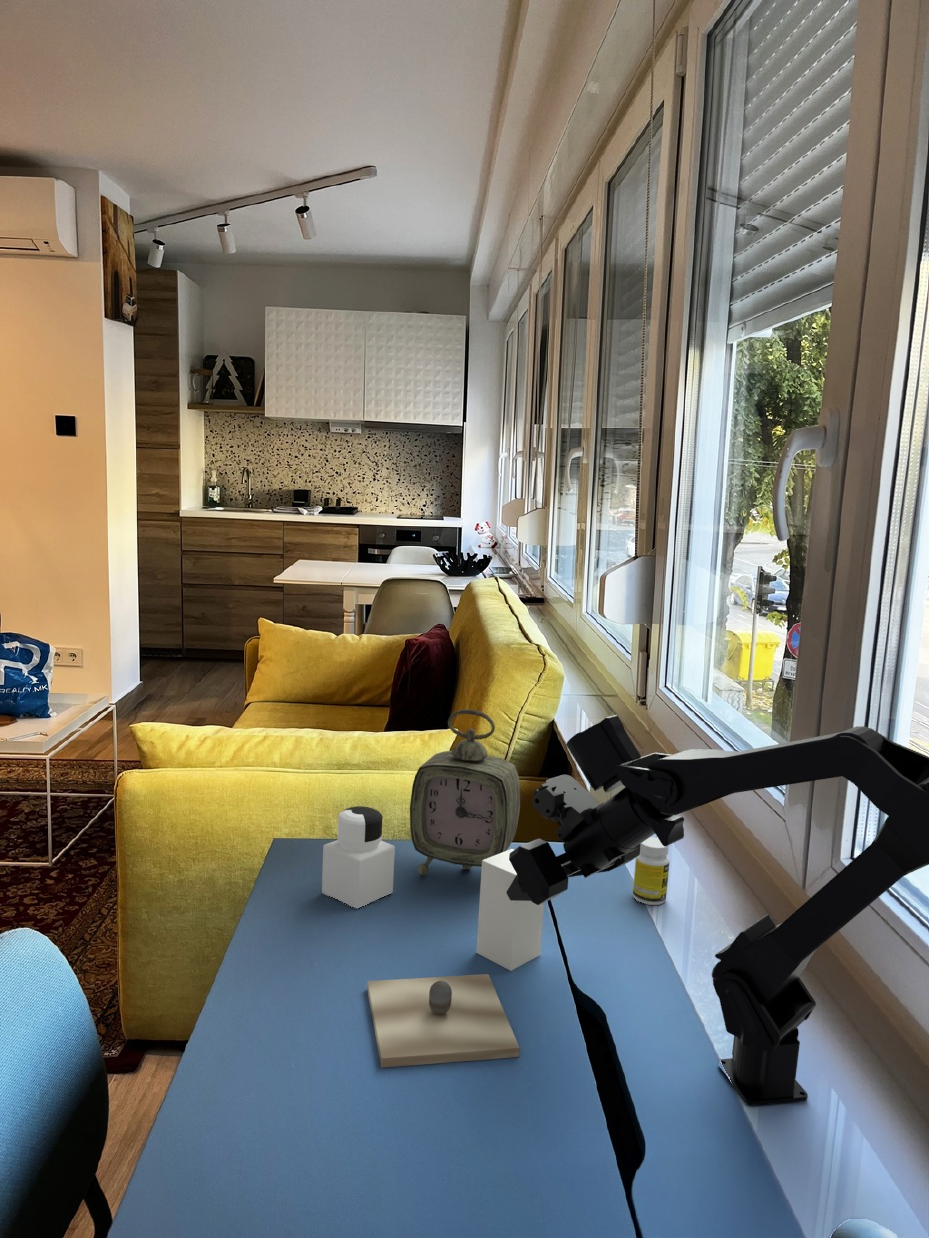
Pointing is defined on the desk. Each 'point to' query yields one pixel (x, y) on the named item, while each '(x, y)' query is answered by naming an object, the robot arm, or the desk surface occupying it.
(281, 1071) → the desk surface
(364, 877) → the medicine bottle
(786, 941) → the robot arm
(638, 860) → the supplement bottle
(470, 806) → the tabletop clock
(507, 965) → the tall white pillar
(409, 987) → the post stand
